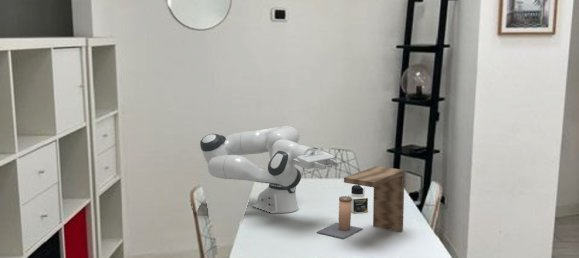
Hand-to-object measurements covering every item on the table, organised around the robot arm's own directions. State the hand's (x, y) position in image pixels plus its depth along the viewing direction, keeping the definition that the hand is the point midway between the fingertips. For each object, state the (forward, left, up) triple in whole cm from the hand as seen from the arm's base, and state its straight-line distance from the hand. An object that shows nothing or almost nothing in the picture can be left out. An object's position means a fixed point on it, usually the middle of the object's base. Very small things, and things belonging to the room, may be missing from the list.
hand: (331, 166), depth 236 cm
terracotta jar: (+5, +3, -27) cm, 27 cm away
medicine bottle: (-5, +31, -28) cm, 42 cm away
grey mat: (+4, +1, -27) cm, 28 cm away
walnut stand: (+18, +4, -27) cm, 33 cm away
